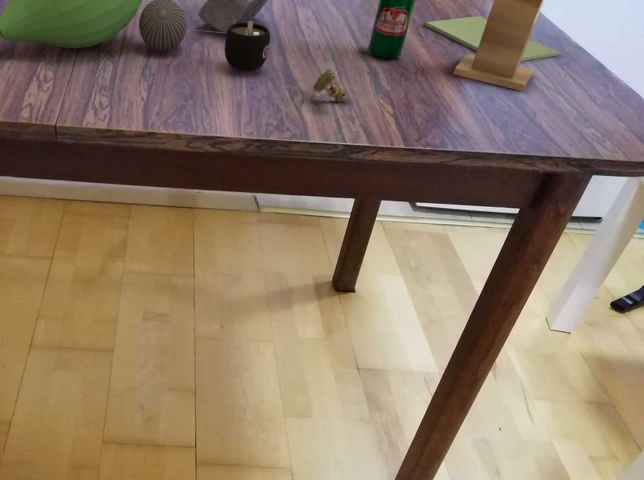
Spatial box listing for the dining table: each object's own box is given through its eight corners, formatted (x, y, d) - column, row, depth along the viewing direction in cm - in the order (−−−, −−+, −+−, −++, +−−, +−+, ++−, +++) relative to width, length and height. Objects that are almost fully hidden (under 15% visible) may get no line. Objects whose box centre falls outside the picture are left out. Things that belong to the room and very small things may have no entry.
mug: (266, 79, 97) (274, 23, 92) (222, 75, 98) (227, 19, 93) (265, 48, 106) (272, -4, 101) (224, 45, 106) (229, -8, 101)
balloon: (-19, 108, 105) (148, 19, 109) (-12, 100, 92) (178, 0, 96) (-74, 12, 99) (104, -77, 104) (-75, -11, 86) (130, -112, 91)
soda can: (366, 58, 106) (386, -29, 98) (367, 47, 110) (387, -38, 102) (400, 62, 105) (423, -24, 97) (400, 51, 109) (422, -33, 101)
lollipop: (235, -32, 108) (214, 2, 114) (140, -8, 97) (122, 28, 103) (270, 18, 107) (247, 49, 113) (179, 48, 97) (158, 80, 103)
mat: (557, 55, 112) (558, 51, 111) (502, 64, 107) (503, 60, 107) (477, 19, 123) (479, 15, 123) (425, 25, 119) (426, 22, 119)
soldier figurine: (331, 77, 90) (353, 95, 93) (327, 73, 91) (349, 91, 93) (320, 91, 91) (342, 108, 94) (316, 86, 92) (338, 104, 94)
